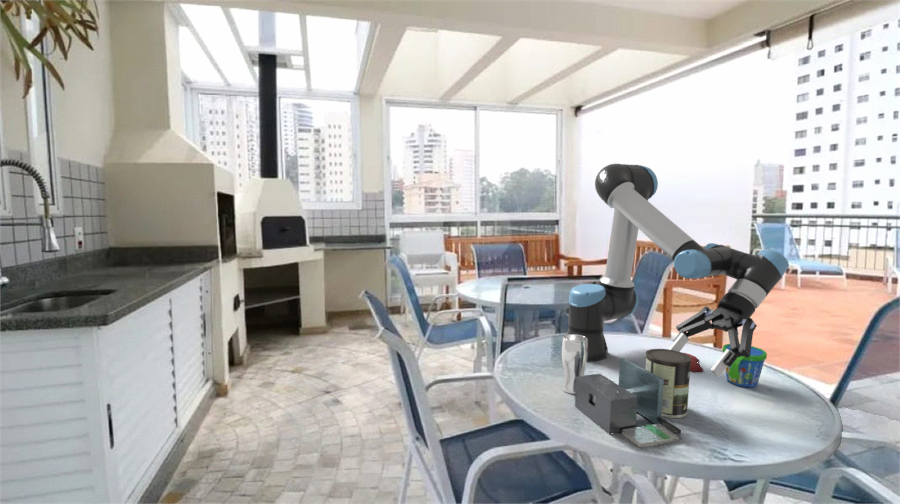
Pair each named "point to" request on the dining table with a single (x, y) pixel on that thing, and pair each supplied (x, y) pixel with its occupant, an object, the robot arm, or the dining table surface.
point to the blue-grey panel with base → (644, 391)
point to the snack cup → (746, 368)
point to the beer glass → (573, 360)
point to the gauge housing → (617, 411)
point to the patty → (694, 364)
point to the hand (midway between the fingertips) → (691, 363)
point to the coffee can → (671, 379)
